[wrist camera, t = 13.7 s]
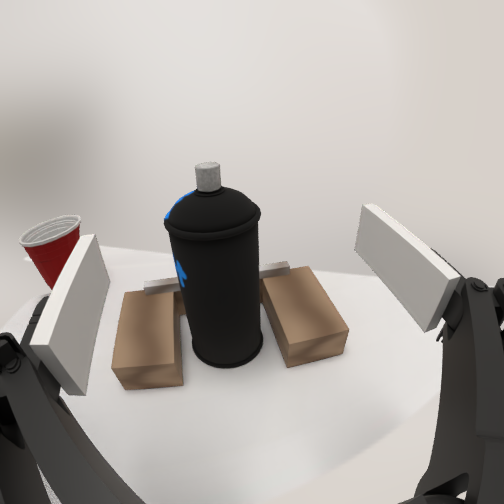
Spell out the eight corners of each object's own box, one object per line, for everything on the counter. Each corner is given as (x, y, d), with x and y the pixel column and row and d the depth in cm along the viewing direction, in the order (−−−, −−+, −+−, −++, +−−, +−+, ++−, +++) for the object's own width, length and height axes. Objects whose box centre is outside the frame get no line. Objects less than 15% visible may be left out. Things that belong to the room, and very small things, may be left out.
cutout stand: (125, 389, 26) (106, 360, 23) (133, 315, 36) (122, 284, 33) (342, 353, 30) (351, 321, 27) (305, 289, 40) (308, 257, 37)
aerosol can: (269, 321, 35) (268, 154, 24) (253, 375, 28) (243, 182, 18) (206, 311, 37) (184, 154, 26) (181, 359, 30) (135, 181, 19)
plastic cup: (110, 271, 45) (91, 206, 39) (87, 314, 36) (57, 241, 29) (63, 272, 45) (42, 214, 38) (36, 311, 35) (6, 246, 29)
